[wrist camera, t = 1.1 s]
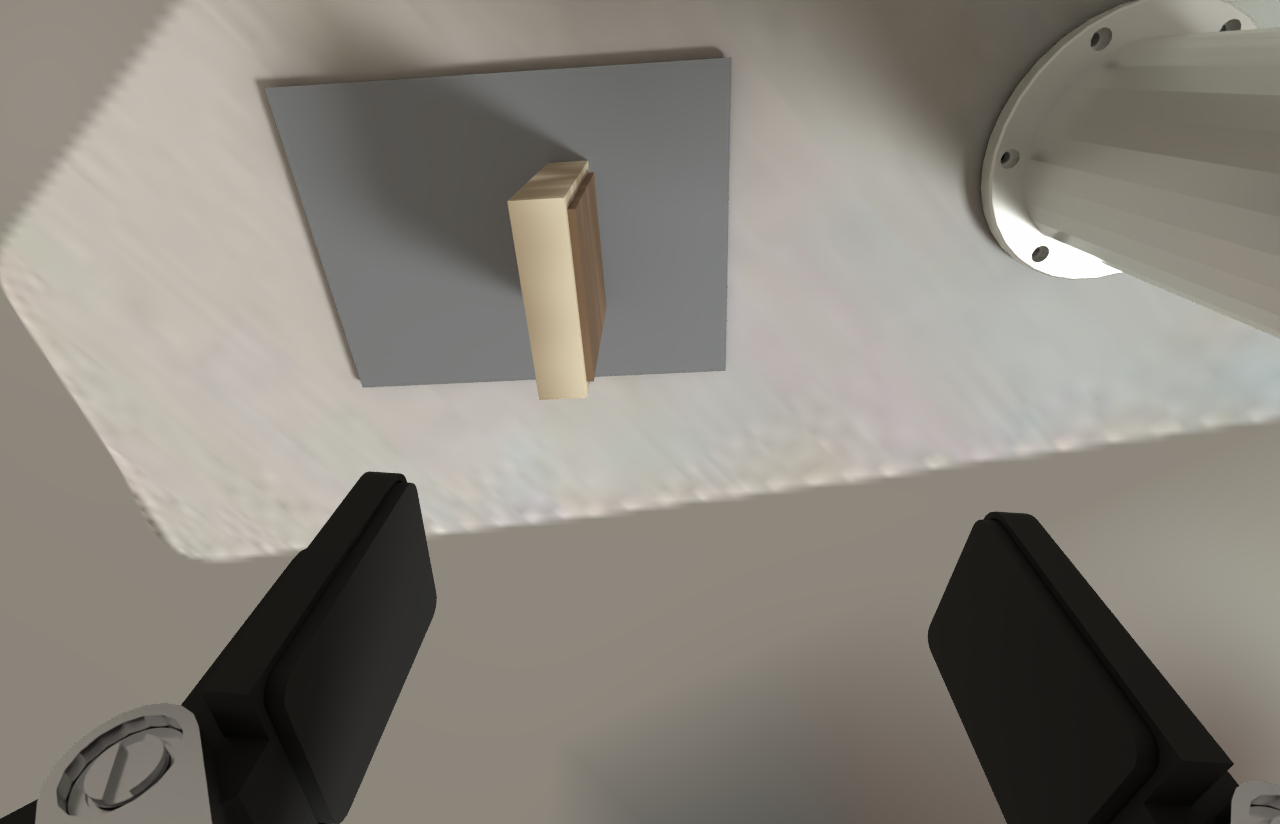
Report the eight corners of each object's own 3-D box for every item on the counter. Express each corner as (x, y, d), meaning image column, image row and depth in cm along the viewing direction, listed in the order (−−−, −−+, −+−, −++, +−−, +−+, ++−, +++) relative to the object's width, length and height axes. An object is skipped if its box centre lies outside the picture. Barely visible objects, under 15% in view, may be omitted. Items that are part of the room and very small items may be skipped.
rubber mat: (730, 57, 27) (731, 57, 27) (724, 367, 35) (725, 370, 35) (268, 87, 28) (263, 87, 28) (365, 384, 36) (362, 387, 36)
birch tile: (594, 159, 29) (572, 197, 21) (607, 312, 33) (594, 397, 25) (548, 162, 29) (507, 201, 21) (567, 314, 33) (539, 399, 25)
